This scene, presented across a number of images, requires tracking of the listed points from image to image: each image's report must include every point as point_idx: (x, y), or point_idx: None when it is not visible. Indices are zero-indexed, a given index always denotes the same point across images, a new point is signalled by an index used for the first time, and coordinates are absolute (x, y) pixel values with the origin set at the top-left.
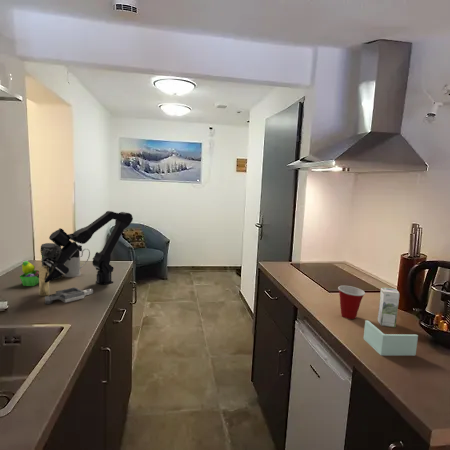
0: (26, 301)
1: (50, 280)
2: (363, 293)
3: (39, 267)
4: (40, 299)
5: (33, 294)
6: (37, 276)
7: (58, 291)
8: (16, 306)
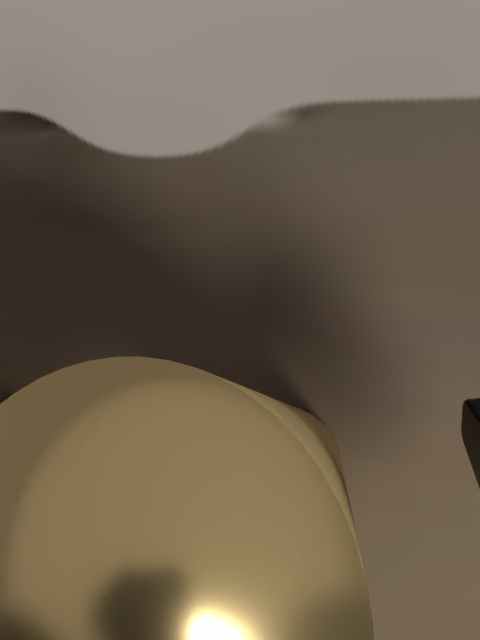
0: (165, 262)
1: None
2: None
3: (93, 381)
4: None
5: (361, 355)
6: (468, 405)
7: None
8: (89, 182)
